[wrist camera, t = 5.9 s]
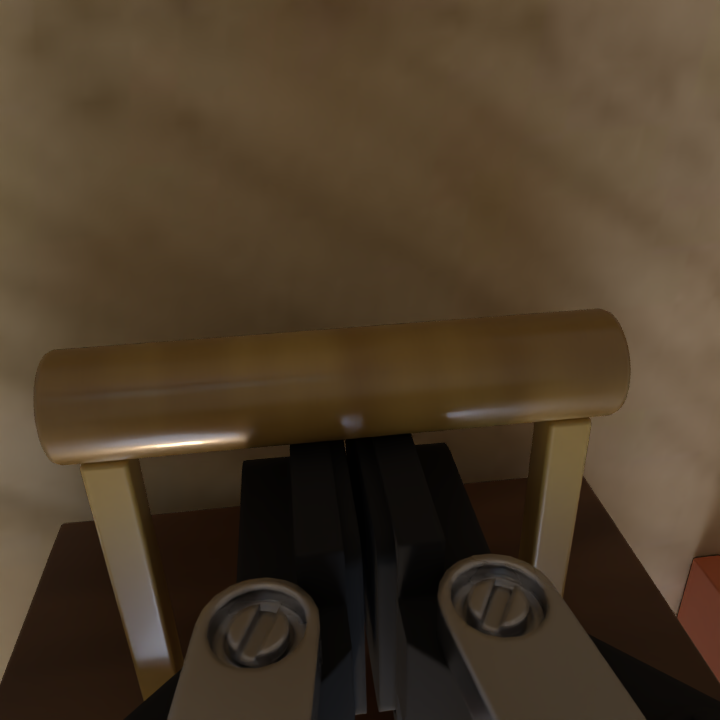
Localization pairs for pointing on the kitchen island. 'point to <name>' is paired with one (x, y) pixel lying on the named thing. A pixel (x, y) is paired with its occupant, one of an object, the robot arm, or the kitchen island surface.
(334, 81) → the kitchen island surface
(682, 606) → the block
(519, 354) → the drawer
